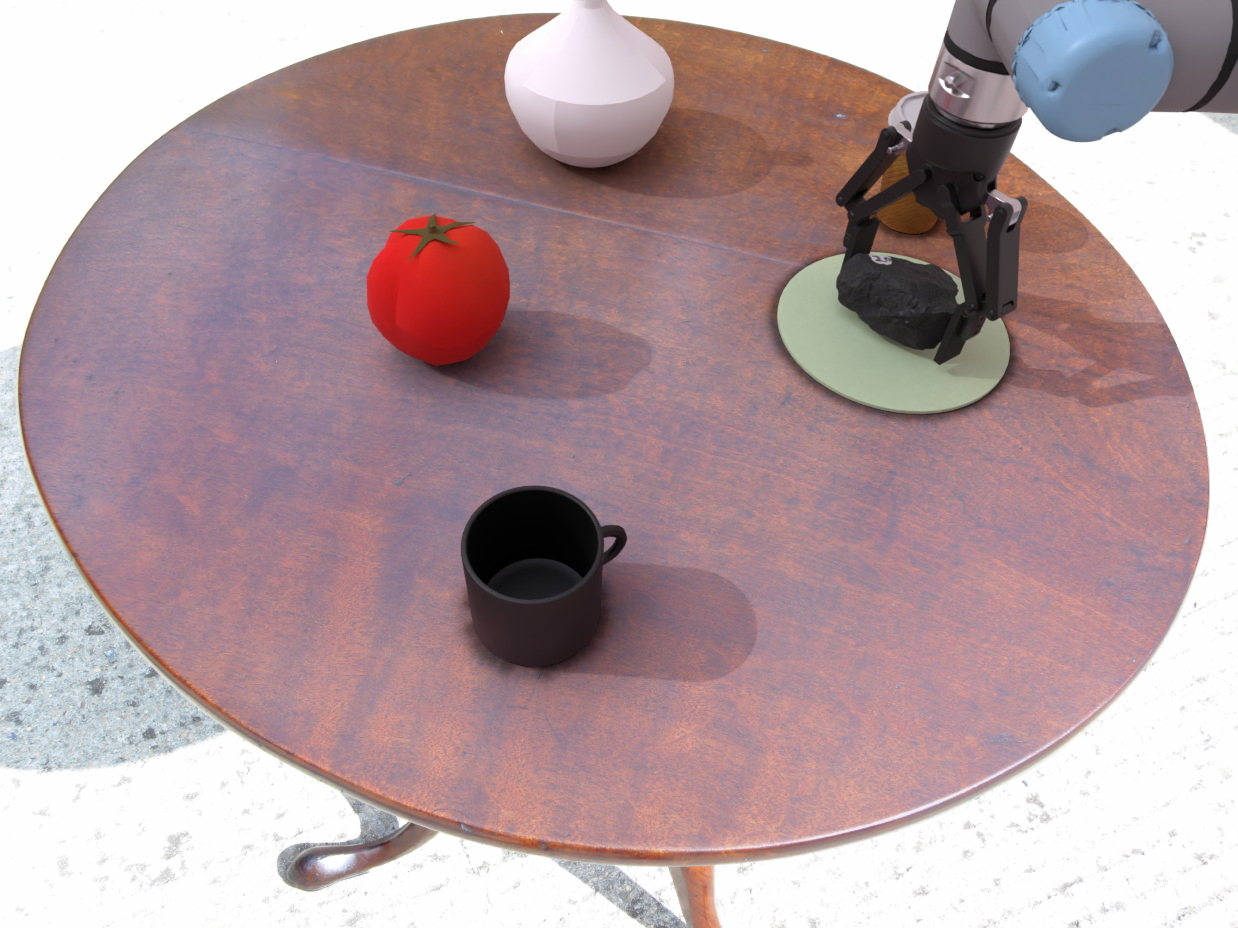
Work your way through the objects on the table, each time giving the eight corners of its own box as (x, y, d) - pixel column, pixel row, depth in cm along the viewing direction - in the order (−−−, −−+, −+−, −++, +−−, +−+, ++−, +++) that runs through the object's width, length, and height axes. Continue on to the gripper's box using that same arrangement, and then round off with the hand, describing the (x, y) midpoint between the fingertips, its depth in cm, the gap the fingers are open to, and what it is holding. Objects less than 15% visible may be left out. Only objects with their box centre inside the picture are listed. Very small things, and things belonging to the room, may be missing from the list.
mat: (1057, 354, 87) (1059, 351, 86) (890, 450, 78) (892, 447, 78) (892, 230, 98) (893, 227, 97) (730, 302, 89) (731, 299, 89)
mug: (654, 620, 67) (664, 552, 60) (503, 690, 63) (495, 627, 56) (594, 525, 72) (597, 453, 65) (451, 585, 68) (438, 515, 61)
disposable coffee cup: (944, 194, 102) (982, 93, 93) (955, 248, 96) (997, 145, 87) (858, 186, 102) (887, 84, 93) (864, 239, 96) (896, 136, 87)
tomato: (367, 319, 86) (339, 200, 75) (494, 292, 89) (484, 173, 79) (394, 407, 79) (368, 289, 69) (531, 374, 82) (525, 256, 72)
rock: (829, 285, 89) (844, 236, 85) (933, 291, 90) (953, 242, 85) (840, 350, 84) (856, 302, 79) (951, 356, 84) (974, 308, 79)
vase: (654, 98, 112) (667, -71, 97) (681, 187, 101) (700, 11, 86) (503, 103, 110) (493, -69, 95) (513, 195, 99) (503, 16, 84)
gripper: (830, 47, 75) (782, 259, 91) (1072, 202, 62) (965, 413, 79) (896, 25, 77) (838, 235, 94) (1139, 169, 65) (1023, 380, 82)
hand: (896, 316), depth 87 cm, fingers closed on rock, 12 cm apart
